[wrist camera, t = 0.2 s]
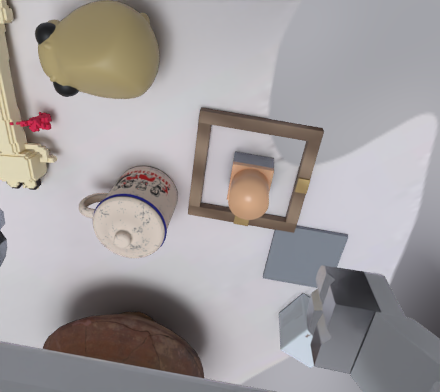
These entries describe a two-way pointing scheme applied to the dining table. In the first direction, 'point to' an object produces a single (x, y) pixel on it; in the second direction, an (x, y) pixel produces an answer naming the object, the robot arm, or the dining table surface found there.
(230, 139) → the dining table surface
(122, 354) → the pottery vessel
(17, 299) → the dining table surface
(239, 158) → the grey square block
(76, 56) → the toy pig
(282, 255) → the pad
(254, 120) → the frame
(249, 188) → the tan domed square base
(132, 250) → the teacup with lid
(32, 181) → the cat figure
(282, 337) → the product box
